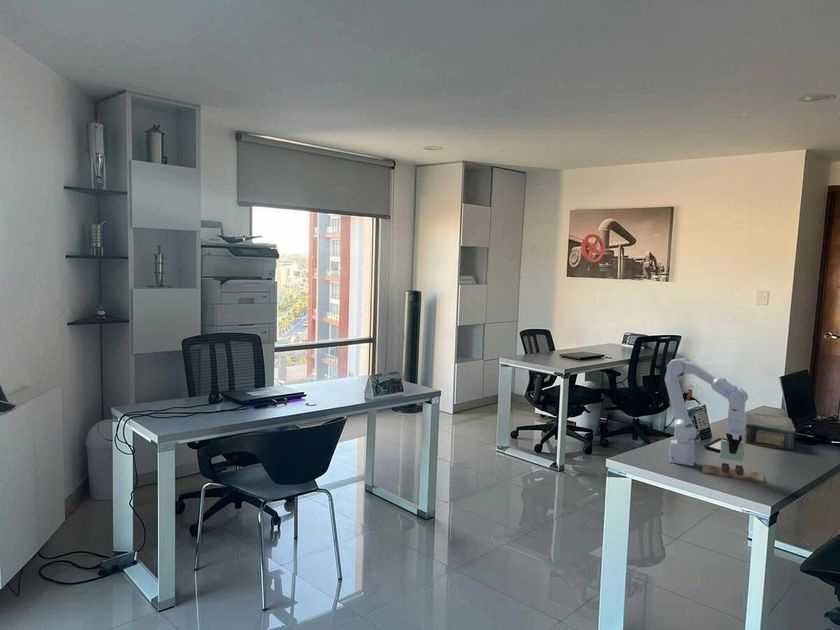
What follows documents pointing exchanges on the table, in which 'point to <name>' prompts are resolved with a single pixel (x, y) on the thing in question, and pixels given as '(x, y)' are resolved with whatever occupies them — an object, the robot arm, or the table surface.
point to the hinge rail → (732, 472)
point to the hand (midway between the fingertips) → (732, 452)
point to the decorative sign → (715, 445)
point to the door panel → (727, 455)
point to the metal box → (769, 430)
